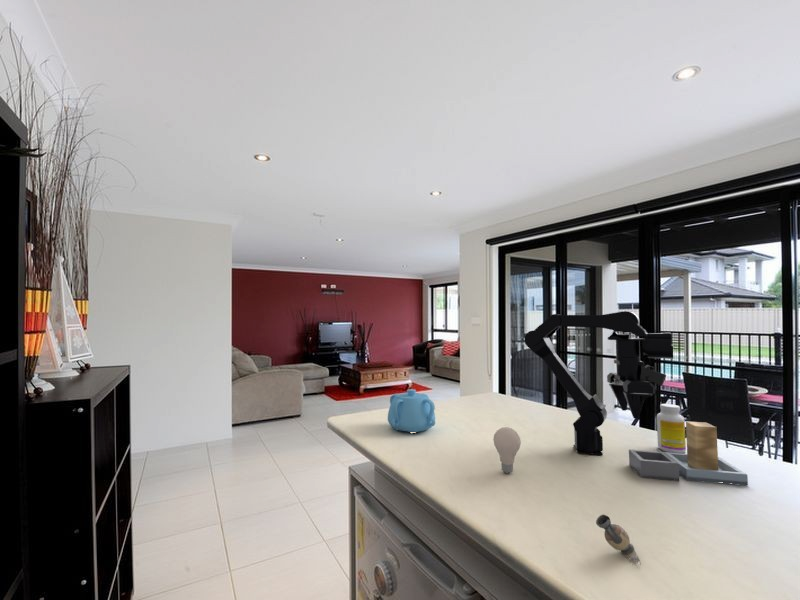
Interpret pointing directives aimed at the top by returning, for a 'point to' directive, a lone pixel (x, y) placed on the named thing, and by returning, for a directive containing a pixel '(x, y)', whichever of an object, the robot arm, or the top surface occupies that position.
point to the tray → (710, 471)
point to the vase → (617, 537)
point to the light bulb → (507, 447)
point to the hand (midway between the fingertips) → (629, 414)
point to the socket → (654, 465)
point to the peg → (702, 445)
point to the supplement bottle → (671, 429)
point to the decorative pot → (411, 411)
